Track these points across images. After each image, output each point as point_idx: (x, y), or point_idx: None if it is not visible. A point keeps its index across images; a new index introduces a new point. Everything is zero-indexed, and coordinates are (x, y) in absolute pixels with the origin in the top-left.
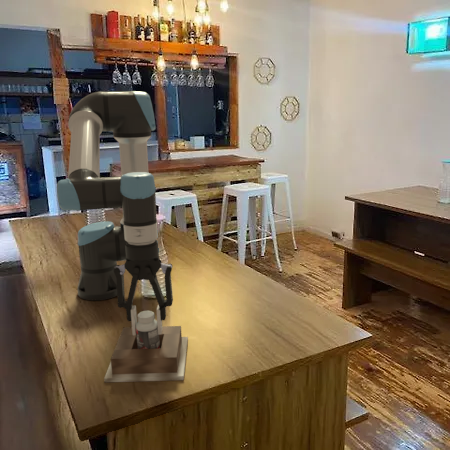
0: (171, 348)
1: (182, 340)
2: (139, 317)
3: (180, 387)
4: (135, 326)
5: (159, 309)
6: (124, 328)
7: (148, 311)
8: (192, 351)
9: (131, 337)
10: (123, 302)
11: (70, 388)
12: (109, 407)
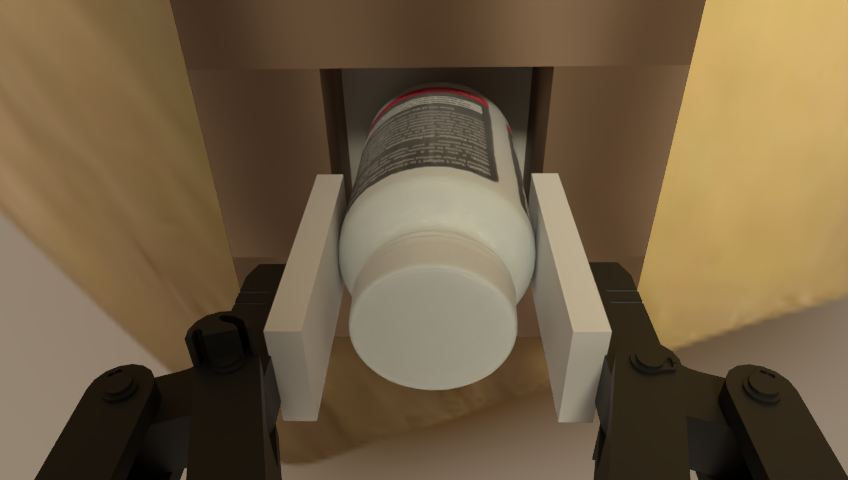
0: (602, 258)
1: None
2: (380, 374)
3: None
4: (341, 279)
5: (590, 418)
6: None
7: (452, 290)
8: (724, 24)
9: (293, 111)
10: (170, 467)
11: (120, 315)
12: (334, 408)
